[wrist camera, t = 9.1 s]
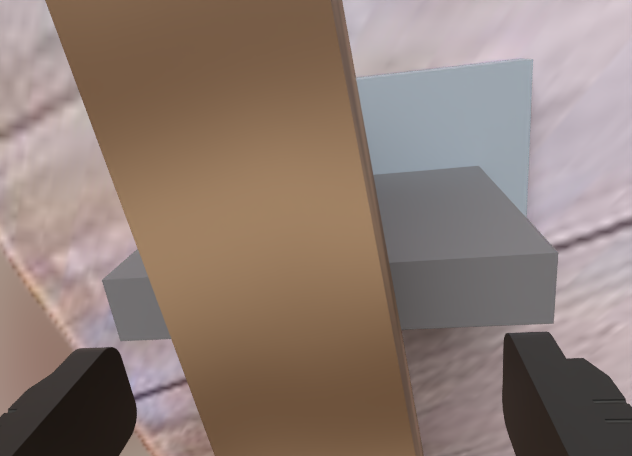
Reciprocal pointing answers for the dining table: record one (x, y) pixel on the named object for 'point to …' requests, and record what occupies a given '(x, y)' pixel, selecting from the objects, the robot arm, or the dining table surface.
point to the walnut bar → (252, 214)
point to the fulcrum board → (453, 120)
